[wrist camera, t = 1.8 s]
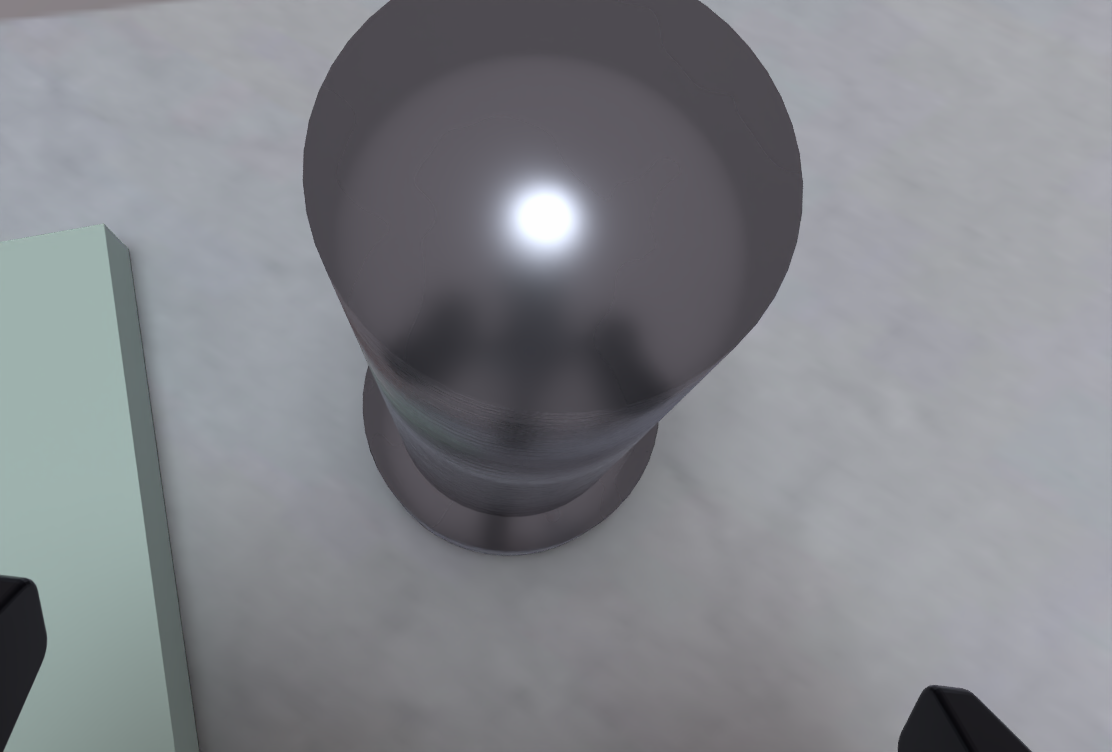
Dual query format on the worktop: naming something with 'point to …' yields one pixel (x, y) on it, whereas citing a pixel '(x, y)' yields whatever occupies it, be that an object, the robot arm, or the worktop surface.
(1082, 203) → the worktop surface
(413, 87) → the grey translucent cylinder
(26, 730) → the sage board
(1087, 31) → the worktop surface
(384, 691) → the worktop surface
